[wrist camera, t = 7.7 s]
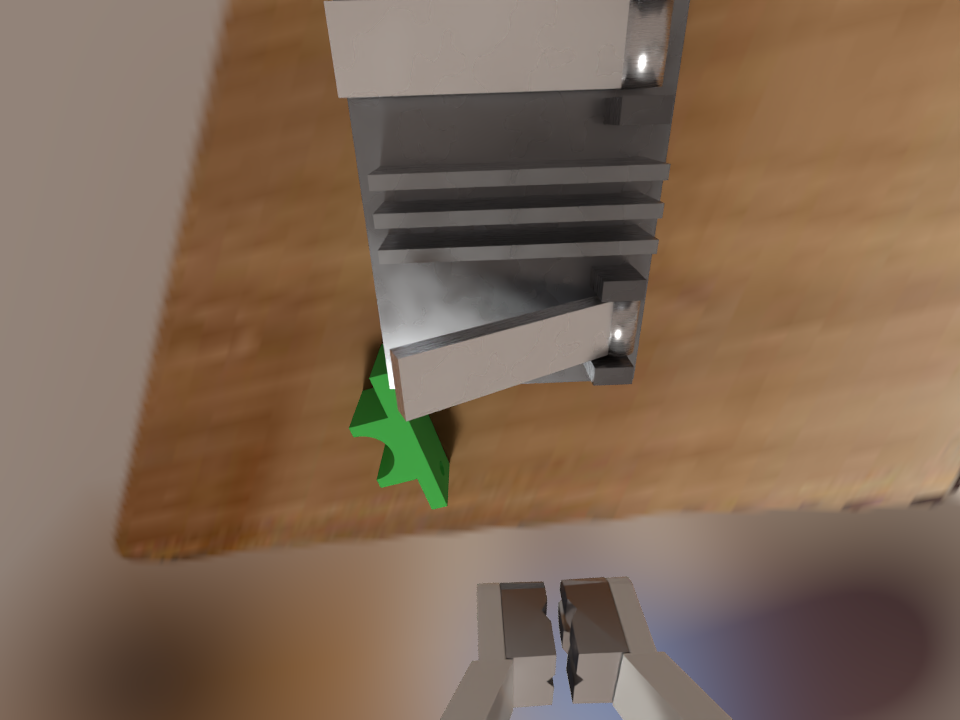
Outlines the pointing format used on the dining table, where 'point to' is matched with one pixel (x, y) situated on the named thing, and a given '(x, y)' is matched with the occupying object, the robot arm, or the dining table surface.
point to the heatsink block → (513, 204)
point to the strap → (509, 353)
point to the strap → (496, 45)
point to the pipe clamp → (401, 439)
